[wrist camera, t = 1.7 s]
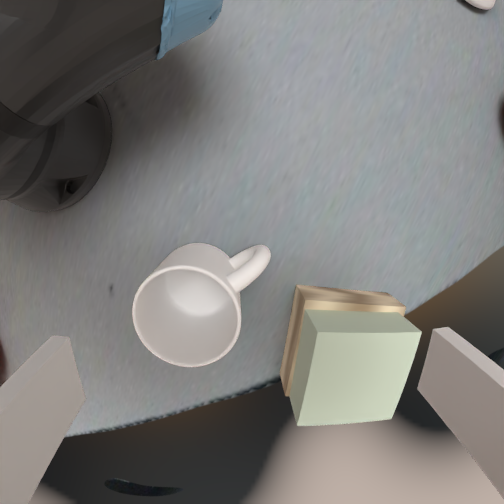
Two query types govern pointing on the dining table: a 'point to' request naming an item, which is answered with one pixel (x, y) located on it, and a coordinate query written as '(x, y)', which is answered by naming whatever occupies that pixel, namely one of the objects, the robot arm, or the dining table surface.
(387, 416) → the tower top
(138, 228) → the dining table surface
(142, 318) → the mug
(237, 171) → the dining table surface
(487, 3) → the flower in vase
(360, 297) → the tower base
